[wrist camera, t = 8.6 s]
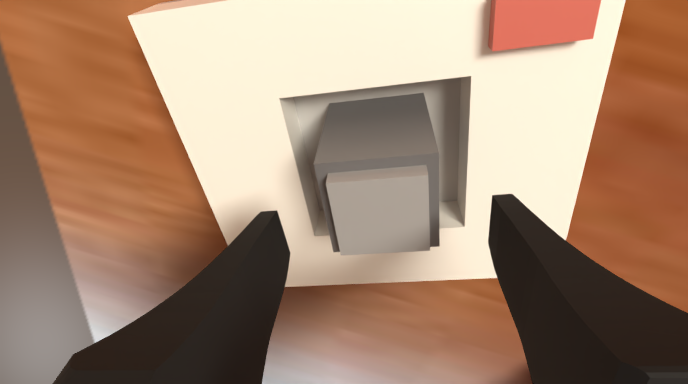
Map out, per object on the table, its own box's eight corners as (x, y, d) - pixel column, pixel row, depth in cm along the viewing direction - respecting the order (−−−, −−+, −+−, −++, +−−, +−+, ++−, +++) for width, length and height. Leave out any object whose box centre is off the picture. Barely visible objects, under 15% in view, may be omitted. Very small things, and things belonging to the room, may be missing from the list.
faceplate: (540, 241, 21) (561, 284, 18) (257, 257, 23) (243, 297, 21) (601, -69, 13) (654, -65, 10) (159, 3, 15) (117, 19, 13)
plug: (425, 173, 18) (441, 257, 14) (342, 179, 19) (331, 263, 14) (423, 92, 16) (441, 162, 11) (329, 103, 17) (310, 174, 12)
